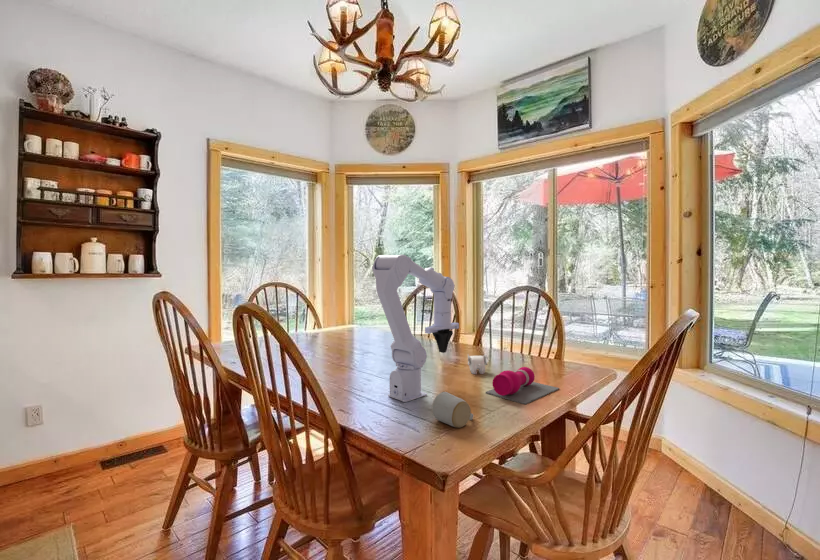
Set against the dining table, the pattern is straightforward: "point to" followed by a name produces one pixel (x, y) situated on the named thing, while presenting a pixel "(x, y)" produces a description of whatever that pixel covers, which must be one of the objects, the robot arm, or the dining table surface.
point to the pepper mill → (512, 380)
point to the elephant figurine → (477, 363)
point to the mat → (527, 393)
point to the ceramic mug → (451, 410)
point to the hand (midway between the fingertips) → (442, 352)
